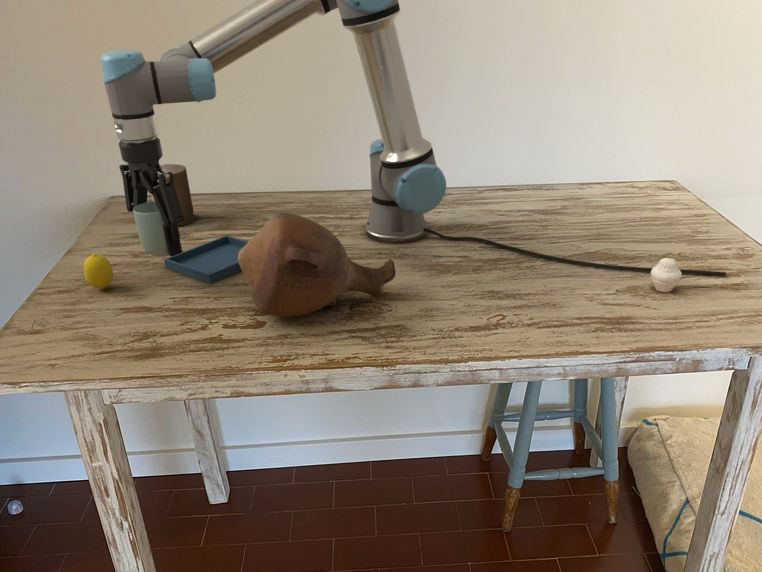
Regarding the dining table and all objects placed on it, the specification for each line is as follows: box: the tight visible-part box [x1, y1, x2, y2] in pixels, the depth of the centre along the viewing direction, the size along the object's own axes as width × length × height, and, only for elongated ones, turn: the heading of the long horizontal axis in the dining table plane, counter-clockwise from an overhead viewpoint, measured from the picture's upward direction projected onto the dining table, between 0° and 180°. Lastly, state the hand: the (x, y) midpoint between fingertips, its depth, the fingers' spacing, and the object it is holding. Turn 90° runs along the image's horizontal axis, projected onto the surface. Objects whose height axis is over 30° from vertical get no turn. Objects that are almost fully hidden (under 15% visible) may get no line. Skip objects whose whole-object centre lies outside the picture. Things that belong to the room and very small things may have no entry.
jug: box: [238, 212, 396, 318], centre depth 137 cm, size 20×20×30 cm
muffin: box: [650, 257, 683, 293], centre depth 146 cm, size 6×6×7 cm
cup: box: [132, 200, 169, 258], centre depth 145 cm, size 8×8×10 cm
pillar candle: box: [150, 163, 196, 227], centre depth 182 cm, size 10×10×15 cm
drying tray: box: [163, 234, 249, 284], centre depth 162 cm, size 15×18×2 cm
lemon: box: [83, 253, 114, 290], centre depth 148 cm, size 6×6×8 cm
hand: (162, 249), depth 147 cm, fingers closed on cup, 8 cm apart
